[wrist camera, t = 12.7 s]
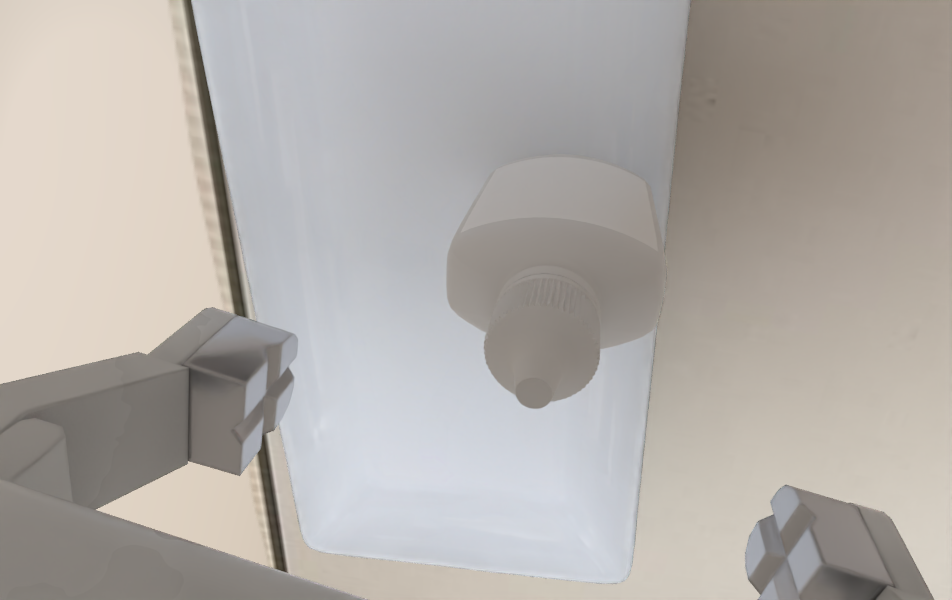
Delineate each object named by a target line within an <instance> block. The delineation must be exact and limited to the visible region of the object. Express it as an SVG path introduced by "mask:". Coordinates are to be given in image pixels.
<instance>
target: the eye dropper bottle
mask: <svg viewBox="0 0 952 600" xmlns="http://www.w3.org/2000/svg"><path fill="white" fill-rule="evenodd" d="M666 279H667V266H666V260H665V254H664V248H663V242H662V237H661V232H660V228H659V223H658V218H657V214H656V209H655V205H654V200H653V196H652V191H651V187H650V185H649V184H648V183H647V182H646V181H645V180H644V179H643V178H642V177H640V176H638V175H637V174H635V173H633V172H631V171H629V170H627V169H625V168H623V167H620V166H618V165H615V164H613V163H610V162H607V161H603V160H600V159H596V158H592V157H586V156H580V155H570V154H551V155H541V156H534V157H529V158H524V159H520V160H516V161H513V162H510V163H507V164H505V165H502V166H500V167H498V168H497V169H495V170H494V171H493V172H492V173H491V174H490V175H489V177H488V179H487V180H486V182H485V184H484V185H483V187H482V189H481V190H480V192H479V194H478V195H477V197H476V199H475V200H474V202H473V204H472V205H471V207H470V209H469V210H468V212H467V214H466V216H465V217H464V219H463V221H462V222H461V224H460V226H459V228H458V230H457V232H456V234H455V236H454V238H453V240H452V242H451V245H450V248H449V251H448V255H447V275H446V287H447V299H448V302H449V305H450V307H451V309H452V310H453V311H454V312H455V313H456V314H457V315H458V316H459V317H460V318H462V319H463V320H465V321H466V322H468V323H469V324H471V325H473V326H474V327H476V328H478V329H479V330H481V331H483V332H485V333H486V336H485V341H484V350H485V351H484V355H485V360H486V364H487V365H488V369H489V370H490V371H491V374H492V375H493V376H494V378H495V379H496V380H497V382H498V383H500V384H501V386H503V387H504V388H505V389H506V390H508V391H510V393H513V394H515V395H516V397H517V399H518V401H519V402H520V403H521V404H522V405H524V406H525V407H528V408H531V409H540V408H543V407H545V406H547V405H548V404H549V403H550V402H551V401H557V400H562V399H567V397H572V395H574V394H577V392H579V391H581V389H583V388H585V387H586V385H587V384H589V381H590V380H592V379H593V376H594V375H595V371H597V367H598V365H599V360H600V349H605V348H609V347H613V346H617V345H620V344H624V343H627V342H631V341H633V340H636V339H639V338H641V337H643V336H645V335H646V334H648V333H649V332H651V331H652V330H653V329H654V327H655V325H656V324H657V322H658V320H659V317H660V313H661V310H662V304H663V299H664V294H665V288H666Z"/></svg>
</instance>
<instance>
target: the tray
mask: <svg viewBox="0 0 952 600" xmlns="http://www.w3.org/2000/svg"><path fill="white" fill-rule="evenodd" d="M191 3H192V8H193V13H194V18H195V23H196V28H197V33H198V38H199V43H200V48H201V53H202V58H203V63H204V68H205V73H206V78H207V83H208V88H209V93H210V98H211V103H212V108H213V113H214V118H215V123H216V127H217V132H218V137H219V142H220V147H221V152H222V157H223V162H224V167H225V171H226V176H227V181H228V186H229V191H230V196H231V201H232V206H233V211H234V215H235V220H236V225H237V230H238V235H239V239H240V244H241V249H242V254H243V259H244V263H245V268H246V273H247V278H248V283H249V287H250V292H251V297H252V302H253V306H254V311H255V316H256V320H257V322H260V323H263V324H266V325H269V326H272V327H275V328H278V329H281V330H285V331H288V332H291V333H294V334H295V335H296V337H297V338H298V349H297V357H296V358H295V359H294V360H293V362H292V363H291V364H290V365H289V366H288V367H289V369H290V370H291V372H292V374H293V376H294V386H293V392H292V396H291V400H290V403H289V405H288V407H287V410H286V412H285V414H284V416H283V418H282V420H281V421H280V423H279V429H280V434H281V438H282V443H283V447H284V452H285V457H286V461H287V466H288V471H289V476H290V482H291V487H292V492H293V497H294V502H295V507H296V512H297V517H298V522H299V526H300V531H301V534H302V537H303V540H304V542H305V544H306V545H307V546H308V547H309V548H311V549H313V550H316V551H319V552H322V553H328V554H335V555H343V556H351V557H361V558H371V559H380V560H390V561H399V562H408V563H417V564H425V565H434V566H443V567H451V568H460V569H468V570H476V571H484V572H493V573H503V574H512V575H521V576H530V577H540V578H549V579H558V580H567V581H576V582H586V583H597V584H617V583H620V582H624V581H625V580H626V579H627V578H628V576H629V574H630V571H631V567H632V563H633V554H634V546H635V537H636V525H637V513H638V503H639V493H640V483H641V473H642V464H643V454H644V445H645V436H646V427H647V417H648V408H649V399H650V390H651V381H652V371H653V362H654V352H655V343H656V333H657V324H658V322H657V324H656V325H655V327H654V329H653V330H652V331H651V332H649V333H648V334H646V335H645V336H643V337H641V338H639V339H636V340H633V341H631V342H627V343H624V344H620V345H617V346H613V347H609V348H605V349H600V360H599V365H598V367H597V371H595V375H594V376H593V379H592V380H590V381H589V384H587V385H586V387H585V388H583V389H581V391H579V392H577V394H574V395H572V397H567V399H562V400H557V401H551V402H550V403H549V404H548V405H547V406H545V407H543V408H540V409H531V408H528V407H525V406H524V405H522V404H521V403H520V402H519V401H518V399H517V397H516V395H515V394H513V393H510V391H508V390H506V389H505V388H504V387H503V386H501V384H500V383H498V382H497V380H496V379H495V378H494V376H493V375H492V374H491V371H490V370H489V369H488V365H487V364H486V360H485V355H484V351H485V350H484V341H485V336H486V333H485V332H483V331H481V330H479V329H478V328H476V327H474V326H473V325H471V324H469V323H468V322H466V321H465V320H463V319H462V318H460V317H459V316H458V315H457V314H456V313H455V312H454V311H453V310H452V309H451V307H450V305H449V302H448V299H447V287H446V275H447V255H448V251H449V248H450V245H451V242H452V240H453V238H454V236H455V234H456V232H457V230H458V228H459V226H460V224H461V222H462V221H463V219H464V217H465V216H466V214H467V212H468V210H469V209H470V207H471V205H472V204H473V202H474V200H475V199H476V197H477V195H478V194H479V192H480V190H481V189H482V187H483V185H484V184H485V182H486V180H487V179H488V177H489V175H490V174H491V173H492V172H493V171H494V170H495V169H497V168H498V167H500V166H502V165H505V164H507V163H510V162H513V161H516V160H520V159H524V158H529V157H534V156H541V155H551V154H570V155H580V156H586V157H592V158H596V159H600V160H603V161H607V162H610V163H613V164H615V165H618V166H620V167H623V168H625V169H627V170H629V171H631V172H633V173H635V174H637V175H638V176H640V177H642V178H643V179H644V180H645V181H646V182H647V183H648V184H649V185H650V187H651V191H652V196H653V200H654V205H655V209H656V214H657V218H658V223H659V228H660V232H661V237H662V242H663V248H664V254H665V243H666V233H667V224H668V214H669V204H670V194H671V184H672V174H673V164H674V154H675V144H676V134H677V124H678V114H679V104H680V95H681V86H682V77H683V68H684V59H685V50H686V40H687V31H688V22H689V13H690V5H691V0H191Z"/></svg>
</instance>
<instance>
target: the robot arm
mask: <svg viewBox="0 0 952 600" xmlns="http://www.w3.org/2000/svg"><path fill="white" fill-rule="evenodd" d="M297 349H298V338H297V337H296V335H295V334H294V333H291V332H288V331H285V330H281V329H278V328H275V327H272V326H269V325H266V324H263V323H260V322H257V321H254V320H251V319H248V318H245V317H242V316H238V315H236V314H232V313H229V312H226V311H223V310H219V309H216V308H206V309H204V310H202V311H201V312H200V313H199V314H197V315H196V316H195V317H194V318H192V319H191V320H190V321H189V322H188V323H186V324H185V325H184V326H182V327H181V328H180V329H179V330H177V331H176V332H175V333H174V334H173V335H171V336H170V337H169V338H167V339H166V340H165V341H164V342H163V343H161V344H160V345H159V346H158V347H156V348H155V349H154V350H153V351H152V352H150V353H149V354H148V355H146V354H143V353H140V352H137V353H132V354H128V355H124V356H119V357H116V358H111V359H106V360H102V361H98V362H94V363H89V364H85V365H81V366H77V367H72V368H68V369H64V370H59V371H55V372H51V373H46V374H42V375H38V376H34V377H29V378H25V379H21V380H16V381H12V382H8V383H3V384H0V600H368V599H365V598H361V597H358V596H355V595H352V594H349V593H346V592H343V591H340V590H337V589H334V588H331V587H328V586H325V585H322V584H319V583H316V582H313V581H310V580H307V579H304V578H301V577H298V576H295V575H292V574H289V573H286V572H282V571H279V570H276V569H273V568H270V567H267V566H264V565H261V564H258V563H255V562H252V561H249V560H246V559H243V558H240V557H237V556H234V555H231V554H228V553H225V552H222V551H219V550H216V549H213V548H210V547H206V546H203V545H200V544H197V543H194V542H191V541H188V540H185V539H182V538H179V537H176V536H173V535H170V534H167V533H164V532H161V531H158V530H155V529H152V528H149V527H146V526H143V525H140V524H137V523H133V522H131V521H127V520H124V519H121V518H118V517H115V516H112V515H109V514H106V513H103V512H100V511H97V510H96V509H98V508H100V507H102V506H104V505H106V504H108V503H110V502H112V501H114V500H116V499H118V498H120V497H122V496H124V495H126V494H128V493H130V492H132V491H134V490H136V489H138V488H140V487H142V486H144V485H146V484H148V483H150V482H152V481H154V480H156V479H158V478H160V477H162V476H164V475H166V474H168V473H170V472H172V471H174V470H176V469H178V468H181V467H182V466H185V465H187V464H188V461H190V462H193V463H197V464H200V465H204V466H208V467H211V468H214V469H218V470H221V471H224V472H228V473H231V474H235V475H239V476H240V475H241V474H242V472H243V471H244V469H245V468H246V467H247V466H248V464H249V463H250V462H251V460H252V459H253V458H254V456H255V455H256V454H257V453H258V451H259V450H260V449H261V441H262V435H263V434H266V433H268V432H271V431H274V430H275V428H276V427H277V425H278V424H279V423H280V421H281V420H282V418H283V416H284V414H285V412H286V410H287V407H288V405H289V403H290V400H291V396H292V392H293V386H294V376H293V374H292V372H291V370H290V369H289V367H288V366H289V365H290V364H291V363H292V362H293V360H294V359H295V358H296V357H297ZM771 506H772V510H773V513H774V514H773V515H771V516H769V517H767V518H764V519H762V520H760V521H758V522H757V524H756V525H755V527H754V529H753V531H752V532H751V534H750V536H749V540H748V544H747V548H746V552H745V562H746V571H747V575H748V580H749V581H750V583H751V584H752V585H753V586H754V587H755V589H756V590H757V591H758V592H759V594H760V595H761V596H760V597H759V599H758V600H934V598H933V596H932V594H931V593H930V591H929V589H928V587H927V585H926V583H925V581H924V579H923V577H922V576H921V574H920V572H919V570H918V568H917V566H916V564H915V562H914V560H913V558H912V557H911V555H910V553H909V551H908V549H907V547H906V545H905V543H904V541H903V540H902V538H901V536H900V534H899V532H898V530H897V528H896V526H895V524H894V523H893V521H892V519H891V518H890V517H889V516H888V515H886V514H885V513H884V512H882V511H878V510H875V509H871V508H868V507H864V506H860V505H857V504H853V503H846V502H843V501H839V500H836V499H833V498H829V497H826V496H822V495H819V494H816V493H812V492H809V491H806V490H802V489H799V488H796V487H792V486H789V485H785V486H783V487H782V488H780V489H779V490H778V491H777V492H776V494H775V495H774V497H773V499H772V500H771Z"/></svg>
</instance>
